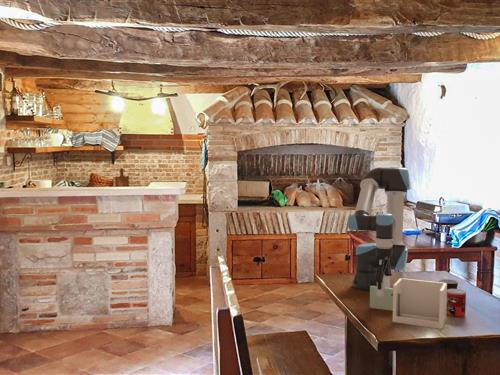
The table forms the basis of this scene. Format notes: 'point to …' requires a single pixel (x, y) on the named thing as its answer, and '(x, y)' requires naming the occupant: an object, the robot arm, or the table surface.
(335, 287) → the table surface
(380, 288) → the robot arm
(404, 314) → the cabinet
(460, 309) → the canned food
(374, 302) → the door
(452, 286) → the coffee mug
